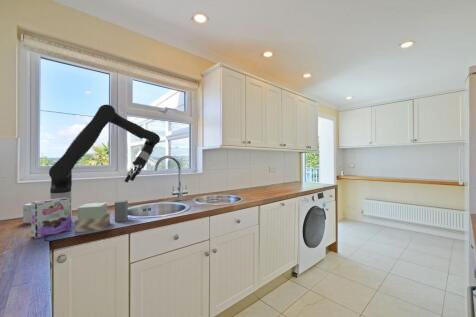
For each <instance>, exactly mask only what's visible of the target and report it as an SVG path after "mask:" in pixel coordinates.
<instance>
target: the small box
mask: <svg viewBox="0 0 476 317" xmlns="http://www.w3.org/2000/svg"><path fill="white" fill-rule="evenodd" d="M22 218H23V219H22V220H23V221H22V222H23V224H31V202H30V203H26V204H23V205H22Z"/></svg>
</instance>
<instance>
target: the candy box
mask: <svg viewBox="0 0 476 317" xmlns="http://www.w3.org/2000/svg"><path fill="white" fill-rule="evenodd" d="M30 203H31V223H30V225H31V226H30V229H31V231H30V236H31V237H32V238H33V239H35V240H36V239H40V238H44V237H49V236H54V235H58V234H62V233H65V232H69V231H72V225H71V224H72V221H71V208H72V204H71V205H70V198H66V197H64V198H57V199H43V200H35V201H31V202H30Z"/></svg>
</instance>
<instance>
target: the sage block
mask: <svg viewBox="0 0 476 317" xmlns="http://www.w3.org/2000/svg"><path fill="white" fill-rule="evenodd" d="M107 211H108V208H107V202H94V203H84V204H83V205H81V206H79V207H77V219H78V220H84V219H97V218H102V217H103V216H104V215H105V214H107V213H108V212H107Z"/></svg>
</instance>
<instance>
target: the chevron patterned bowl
mask: <svg viewBox="0 0 476 317" xmlns="http://www.w3.org/2000/svg"><path fill="white" fill-rule="evenodd" d="M110 220H111V214H110V212H107V214H105V215H104V216H103V217H102V218H97V219H84V220H78V218H77V219H75V220H74V233H81V232H93V231H104V229H105V228H107V226H108V225H109V224H110V223H111V221H110Z"/></svg>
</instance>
